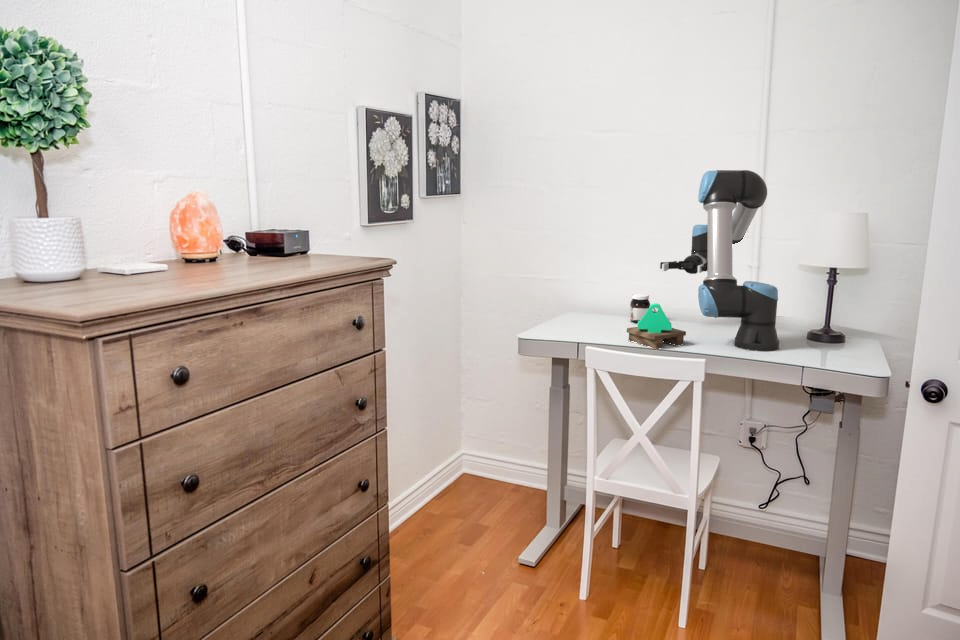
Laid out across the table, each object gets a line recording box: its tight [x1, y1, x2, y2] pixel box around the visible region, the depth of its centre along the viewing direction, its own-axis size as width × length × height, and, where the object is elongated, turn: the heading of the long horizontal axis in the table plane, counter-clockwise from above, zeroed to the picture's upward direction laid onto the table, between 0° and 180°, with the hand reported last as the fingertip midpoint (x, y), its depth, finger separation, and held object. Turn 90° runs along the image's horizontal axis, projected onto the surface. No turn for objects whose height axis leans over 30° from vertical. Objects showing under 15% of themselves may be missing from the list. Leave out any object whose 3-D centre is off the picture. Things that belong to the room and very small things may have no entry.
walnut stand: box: [626, 326, 687, 350], centre depth 255 cm, size 15×15×5 cm
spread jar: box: [629, 293, 657, 324], centre depth 291 cm, size 12×11×12 cm
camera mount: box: [637, 302, 673, 333], centre depth 253 cm, size 12×8×10 cm, turn 77°
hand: (680, 268), depth 264 cm, fingers open, 13 cm apart
